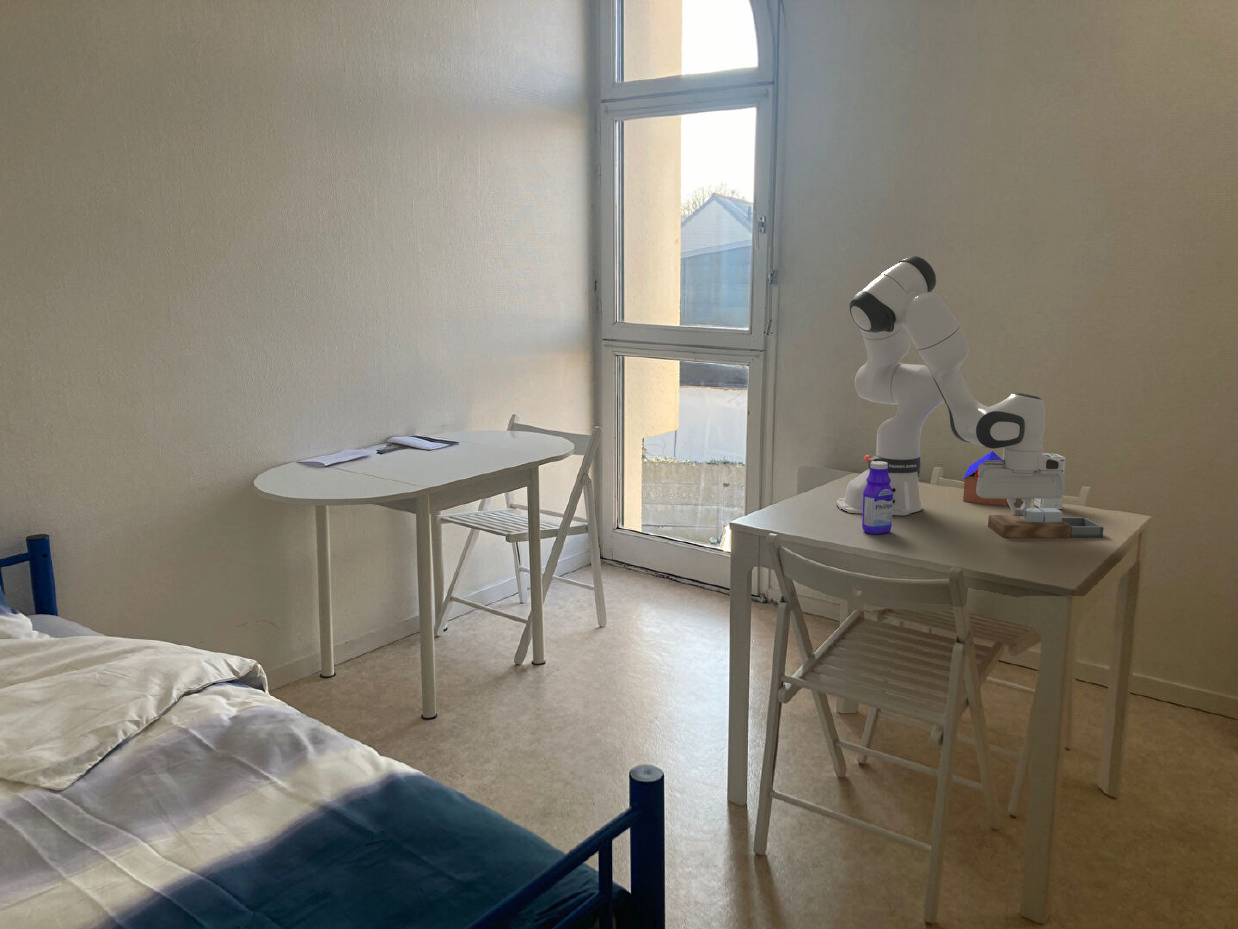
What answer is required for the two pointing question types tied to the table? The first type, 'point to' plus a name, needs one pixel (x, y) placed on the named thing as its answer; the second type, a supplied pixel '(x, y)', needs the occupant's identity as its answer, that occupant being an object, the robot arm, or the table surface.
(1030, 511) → the tile
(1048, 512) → the tile
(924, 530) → the table surface
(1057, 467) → the robot arm
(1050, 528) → the board
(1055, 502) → the syrup box
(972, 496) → the house
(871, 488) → the bottle
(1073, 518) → the tray
